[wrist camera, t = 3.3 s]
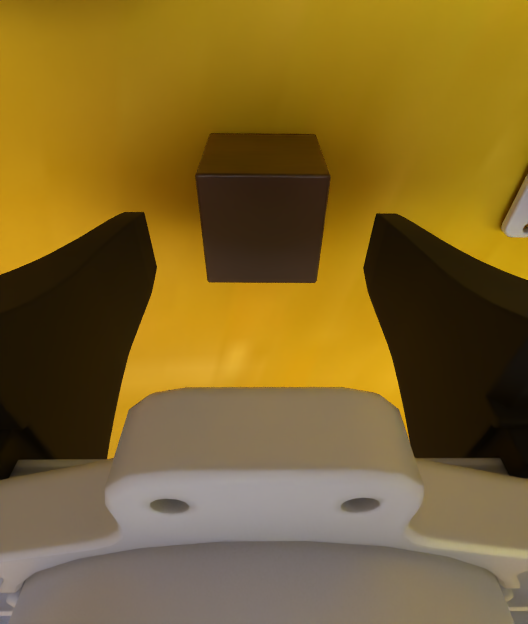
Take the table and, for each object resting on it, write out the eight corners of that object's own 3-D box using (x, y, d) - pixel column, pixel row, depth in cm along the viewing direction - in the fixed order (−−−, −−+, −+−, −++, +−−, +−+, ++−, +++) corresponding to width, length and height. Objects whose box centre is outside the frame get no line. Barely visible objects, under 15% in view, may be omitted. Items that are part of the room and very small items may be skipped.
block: (316, 133, 13) (331, 174, 10) (306, 229, 16) (316, 283, 13) (209, 132, 13) (194, 173, 10) (217, 228, 16) (207, 283, 13)
